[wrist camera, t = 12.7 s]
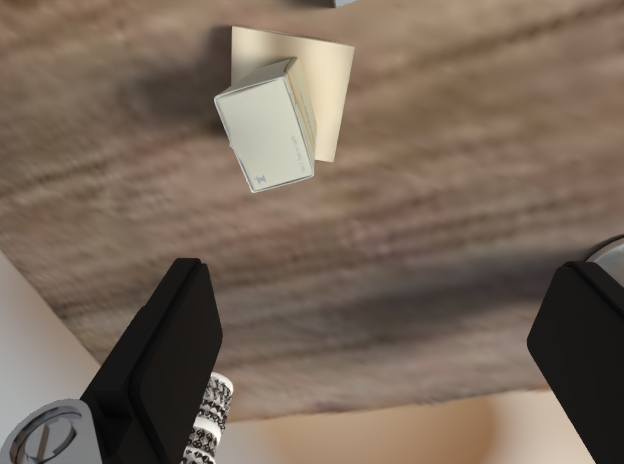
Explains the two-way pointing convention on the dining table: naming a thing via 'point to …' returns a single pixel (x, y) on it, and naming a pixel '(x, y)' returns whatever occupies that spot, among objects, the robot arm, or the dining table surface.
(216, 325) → the robot arm
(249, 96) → the skincare box
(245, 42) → the pedestal
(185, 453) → the decorative candle
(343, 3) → the grey cube
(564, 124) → the dining table surface
